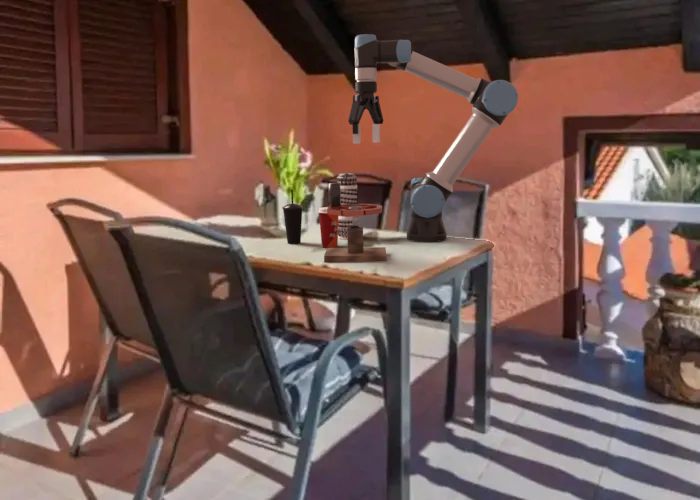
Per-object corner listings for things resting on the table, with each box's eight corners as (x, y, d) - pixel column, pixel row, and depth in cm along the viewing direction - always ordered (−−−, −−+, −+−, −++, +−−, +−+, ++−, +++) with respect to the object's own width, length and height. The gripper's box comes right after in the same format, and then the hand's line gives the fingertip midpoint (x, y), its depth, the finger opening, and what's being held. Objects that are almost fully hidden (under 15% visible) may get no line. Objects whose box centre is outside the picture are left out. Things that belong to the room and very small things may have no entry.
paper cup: (337, 248, 239) (336, 209, 236) (316, 248, 240) (315, 209, 238) (342, 244, 246) (341, 206, 244) (322, 244, 248) (321, 206, 245)
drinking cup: (285, 241, 256) (283, 188, 252) (305, 241, 255) (303, 188, 252) (282, 244, 248) (280, 191, 244) (303, 244, 248) (301, 190, 244)
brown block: (385, 253, 229) (385, 224, 227) (386, 261, 215) (386, 230, 213) (327, 253, 230) (326, 224, 228) (324, 262, 216) (323, 231, 214)
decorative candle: (343, 240, 255) (342, 174, 250) (332, 237, 263) (330, 173, 258) (364, 238, 259) (363, 173, 254) (352, 235, 267) (351, 172, 262)
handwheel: (330, 225, 230) (329, 182, 227) (382, 225, 229) (382, 181, 226) (325, 234, 213) (324, 187, 210) (381, 233, 211) (380, 186, 209)
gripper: (374, 83, 245) (375, 141, 249) (337, 80, 225) (338, 144, 229) (392, 82, 242) (393, 141, 245) (356, 79, 221) (357, 144, 225)
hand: (366, 143), depth 237 cm, fingers open, 13 cm apart
